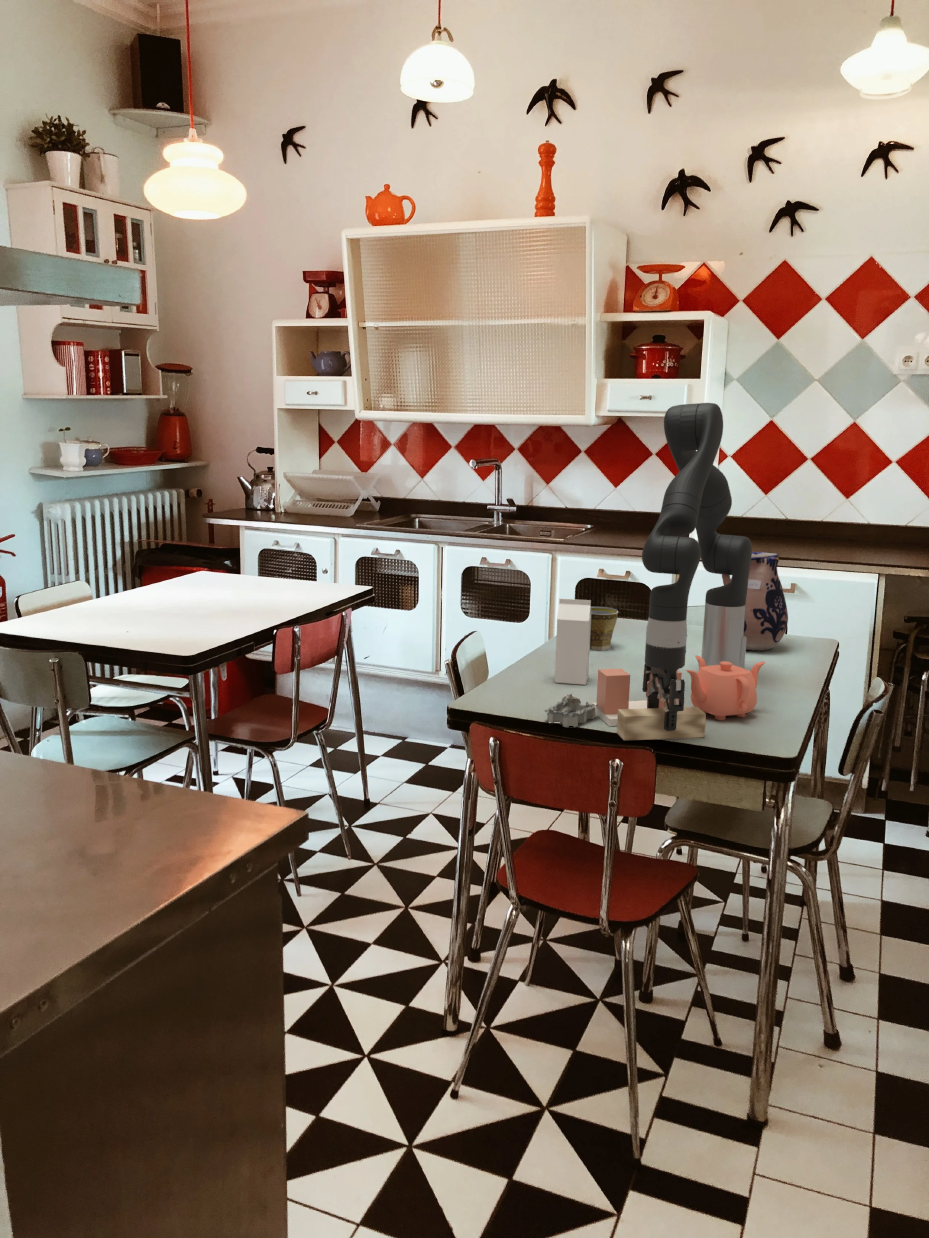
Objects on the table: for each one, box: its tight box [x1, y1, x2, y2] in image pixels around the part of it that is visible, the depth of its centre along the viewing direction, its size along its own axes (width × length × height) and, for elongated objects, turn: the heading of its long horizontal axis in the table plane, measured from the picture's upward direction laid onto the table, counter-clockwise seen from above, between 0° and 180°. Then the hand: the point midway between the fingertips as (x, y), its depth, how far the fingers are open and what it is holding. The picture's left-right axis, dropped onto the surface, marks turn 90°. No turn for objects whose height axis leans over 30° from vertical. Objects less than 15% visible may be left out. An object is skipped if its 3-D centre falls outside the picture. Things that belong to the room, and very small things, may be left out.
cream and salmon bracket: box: [591, 668, 683, 727], centre depth 200 cm, size 16×11×10 cm
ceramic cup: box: [590, 606, 619, 652], centre depth 259 cm, size 13×10×10 cm
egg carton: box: [543, 693, 598, 728], centre depth 198 cm, size 11×8×4 cm
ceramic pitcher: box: [721, 551, 789, 651], centre depth 261 cm, size 18×21×25 cm
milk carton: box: [554, 598, 592, 686], centre depth 225 cm, size 7×7×19 cm
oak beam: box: [616, 706, 707, 741], centre depth 189 cm, size 16×4×5 cm, turn 99°
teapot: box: [685, 655, 766, 721], centre depth 203 cm, size 14×14×11 cm
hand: (660, 723), depth 189 cm, fingers open, 8 cm apart
